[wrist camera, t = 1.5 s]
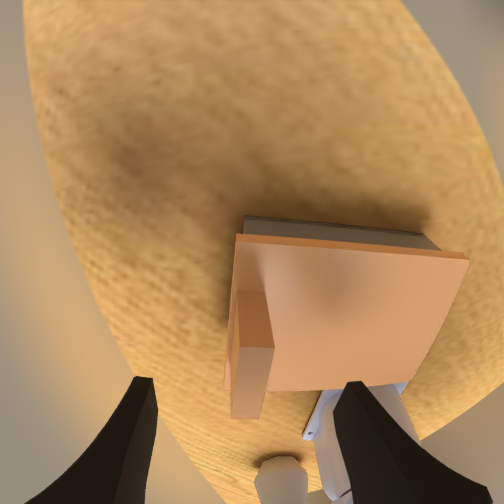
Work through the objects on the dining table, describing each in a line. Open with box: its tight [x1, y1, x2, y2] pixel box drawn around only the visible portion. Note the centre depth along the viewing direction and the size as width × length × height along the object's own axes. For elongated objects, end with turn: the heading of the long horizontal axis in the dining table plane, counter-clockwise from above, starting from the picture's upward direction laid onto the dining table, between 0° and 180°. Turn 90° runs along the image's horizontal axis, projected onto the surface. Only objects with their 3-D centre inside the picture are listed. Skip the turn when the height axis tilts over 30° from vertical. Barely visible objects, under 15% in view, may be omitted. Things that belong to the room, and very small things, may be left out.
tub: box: [242, 216, 442, 251], centre depth 17 cm, size 8×11×4 cm
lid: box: [224, 233, 471, 419], centre depth 14 cm, size 9×12×5 cm
